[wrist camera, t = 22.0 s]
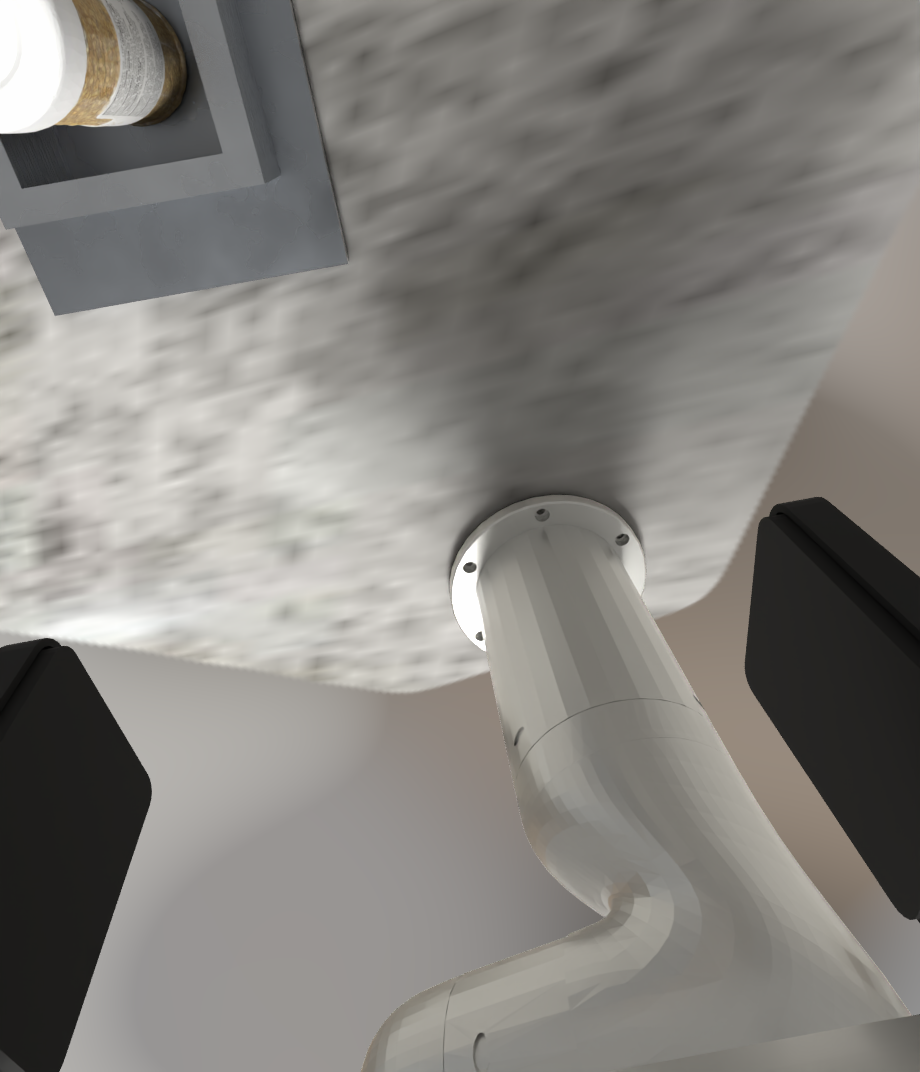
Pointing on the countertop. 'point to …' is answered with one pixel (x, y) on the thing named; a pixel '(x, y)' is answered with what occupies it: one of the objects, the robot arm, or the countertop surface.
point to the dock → (184, 174)
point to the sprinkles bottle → (87, 64)
